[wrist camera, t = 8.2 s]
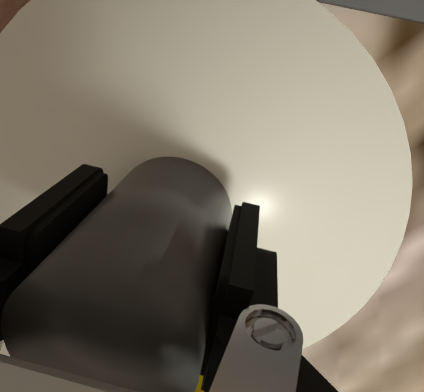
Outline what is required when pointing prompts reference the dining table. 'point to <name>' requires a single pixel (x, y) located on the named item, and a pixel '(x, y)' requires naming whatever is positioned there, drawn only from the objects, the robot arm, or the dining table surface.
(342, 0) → the mat
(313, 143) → the lid
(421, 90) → the dining table surface
